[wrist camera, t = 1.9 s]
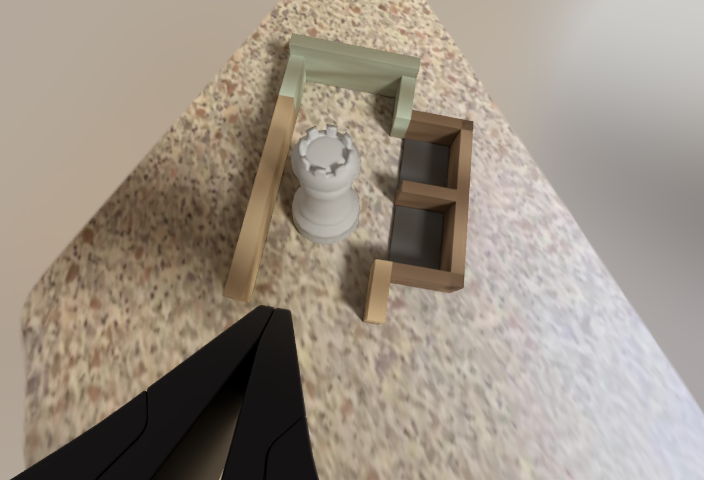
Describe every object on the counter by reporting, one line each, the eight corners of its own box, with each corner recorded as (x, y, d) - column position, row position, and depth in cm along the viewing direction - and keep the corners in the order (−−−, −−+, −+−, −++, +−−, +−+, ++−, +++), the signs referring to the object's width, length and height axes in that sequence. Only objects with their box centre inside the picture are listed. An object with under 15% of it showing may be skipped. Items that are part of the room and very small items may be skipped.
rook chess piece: (369, 232, 22) (393, 175, 14) (306, 256, 21) (295, 209, 13) (344, 176, 23) (353, 95, 15) (283, 196, 22) (260, 121, 14)
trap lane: (446, 336, 20) (466, 335, 17) (233, 299, 20) (218, 293, 17) (463, 100, 26) (480, 70, 23) (295, 68, 25) (292, 33, 22)
